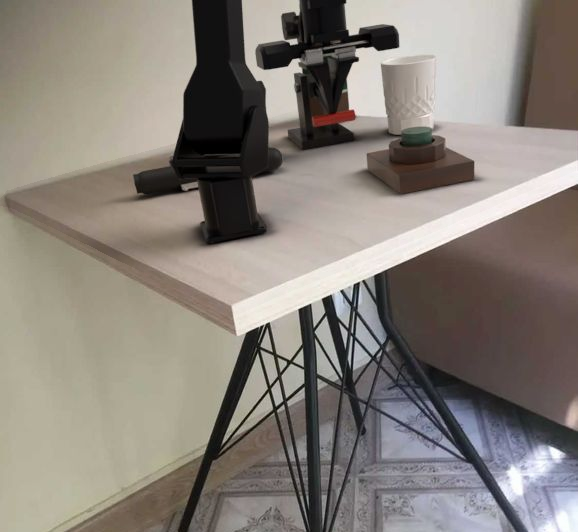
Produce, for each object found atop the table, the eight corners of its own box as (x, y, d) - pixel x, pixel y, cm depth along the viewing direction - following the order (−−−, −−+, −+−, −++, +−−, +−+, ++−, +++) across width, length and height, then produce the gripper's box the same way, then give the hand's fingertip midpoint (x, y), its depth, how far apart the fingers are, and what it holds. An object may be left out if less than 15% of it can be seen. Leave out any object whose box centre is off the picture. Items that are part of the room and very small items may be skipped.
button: (437, 145, 81) (436, 130, 81) (408, 150, 81) (407, 135, 80) (425, 139, 85) (424, 124, 84) (397, 144, 84) (396, 130, 83)
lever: (355, 124, 99) (355, 109, 97) (314, 132, 98) (314, 116, 96) (331, 84, 106) (331, 69, 105) (293, 91, 106) (292, 76, 104)
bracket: (354, 140, 104) (348, 71, 100) (302, 149, 103) (294, 80, 99) (335, 128, 113) (330, 64, 108) (288, 137, 112) (280, 73, 107)
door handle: (129, 158, 102) (132, 176, 88) (260, 133, 105) (285, 148, 91) (134, 180, 104) (138, 202, 89) (264, 156, 107) (288, 173, 92)
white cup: (425, 136, 101) (423, 63, 96) (376, 136, 105) (371, 65, 100) (445, 123, 106) (443, 53, 101) (397, 123, 110) (394, 56, 105)
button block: (474, 179, 80) (474, 144, 78) (400, 194, 79) (398, 159, 77) (433, 157, 90) (432, 126, 88) (367, 170, 89) (365, 138, 87)
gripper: (370, -21, 98) (377, 94, 106) (241, -2, 96) (258, 115, 103) (397, -23, 89) (403, 104, 96) (255, -1, 86) (272, 128, 94)
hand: (332, 112), depth 98 cm, fingers closed
